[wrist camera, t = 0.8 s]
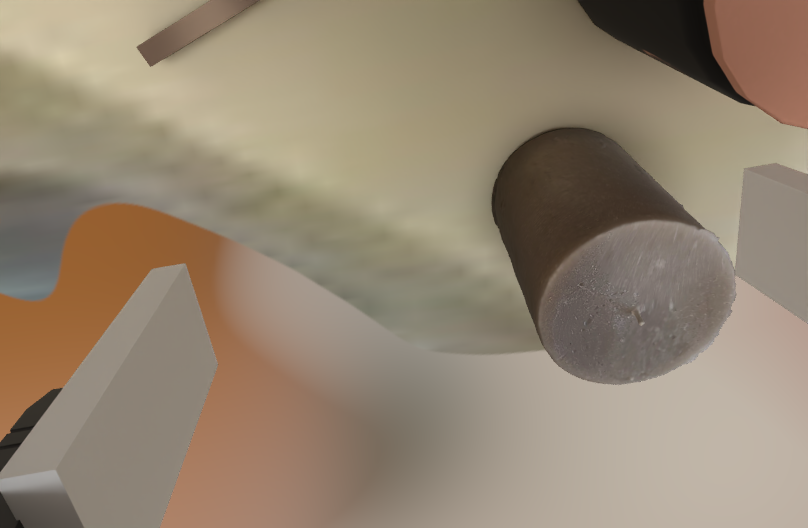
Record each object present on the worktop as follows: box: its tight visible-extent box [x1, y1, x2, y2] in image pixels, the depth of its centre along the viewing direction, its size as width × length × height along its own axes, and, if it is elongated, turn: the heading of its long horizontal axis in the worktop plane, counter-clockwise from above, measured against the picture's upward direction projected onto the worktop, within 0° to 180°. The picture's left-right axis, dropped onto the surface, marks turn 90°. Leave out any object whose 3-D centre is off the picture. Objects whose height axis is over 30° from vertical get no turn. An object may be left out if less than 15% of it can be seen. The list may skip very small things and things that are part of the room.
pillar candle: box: [492, 128, 736, 385], centre depth 34 cm, size 10×10×15 cm
